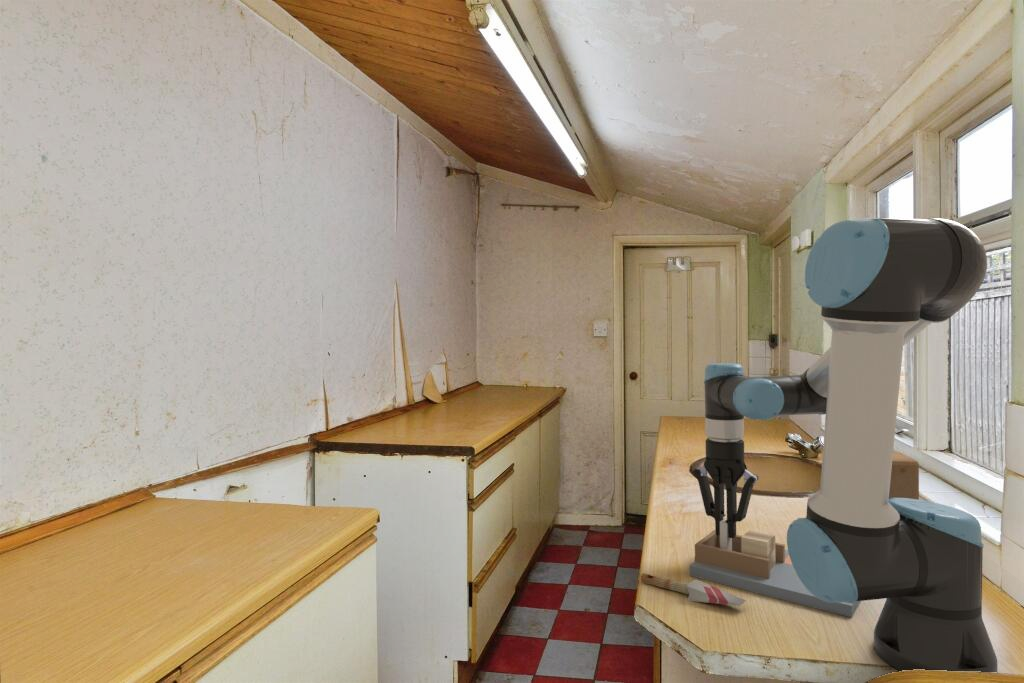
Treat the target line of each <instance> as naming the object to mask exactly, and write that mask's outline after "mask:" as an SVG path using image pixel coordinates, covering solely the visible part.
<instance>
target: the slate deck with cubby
mask: <svg viewBox="0 0 1024 683" xmlns="http://www.w3.org/2000/svg"><path fill="white" fill-rule="evenodd" d="M742 536H743V535H739V534H736V536H735V537H734V538H732V551H731V550H727V549H722V548H720V536H719V535H716V533H715V530H713V531H711V532H710V533H709V534H707V535H705V536H704V537H703V538H702V539H700V540H699V541H698V542H696V543H694V561H693V562H692V563H691V564H690V565H689V576H691V577H696V578H698V579H703V580H707V581H709V582H714V583H717V584H722V585H725V586H729V587H730V586H731V587H733V588H737V589H741V590H746V591H748V592H753V593H757V594H761V595H764V596H768V597H771V598H775V599H778V600H779V599H780V600H784V601H788V602H790V603H795V604H798V605H803V606H807V607H809V608H814V609H818V610H822V611H825V612H830V613H832V614H837V615H841V616H846V617H848V618H853V616H854V615H855V612H856V611H857V609H858V607H859V605H860V604H861V601H856V602H854V603H846V602H835V603H831V602H825V601H823V600H820V599H819V598H817V597H815V596H814V595H813V594H812V593H811V592H810V591H809V590H808V589H807V588H806V587H805V586H804V585H803V583H802V582H801V580H800V579H799V577H798V575H797V573H796V571H795V569H794V567H793V565H792V562H791V559H790V556H789V552H788V549H785V547H786V546H785V545H786V544H784V543H779V542H775V560H776V565H775V566H774V567H773V568H772V569H771V570H770V559H767V558H763V557H758V556H754V555H749V554H745V553H741V537H742Z"/></svg>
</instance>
